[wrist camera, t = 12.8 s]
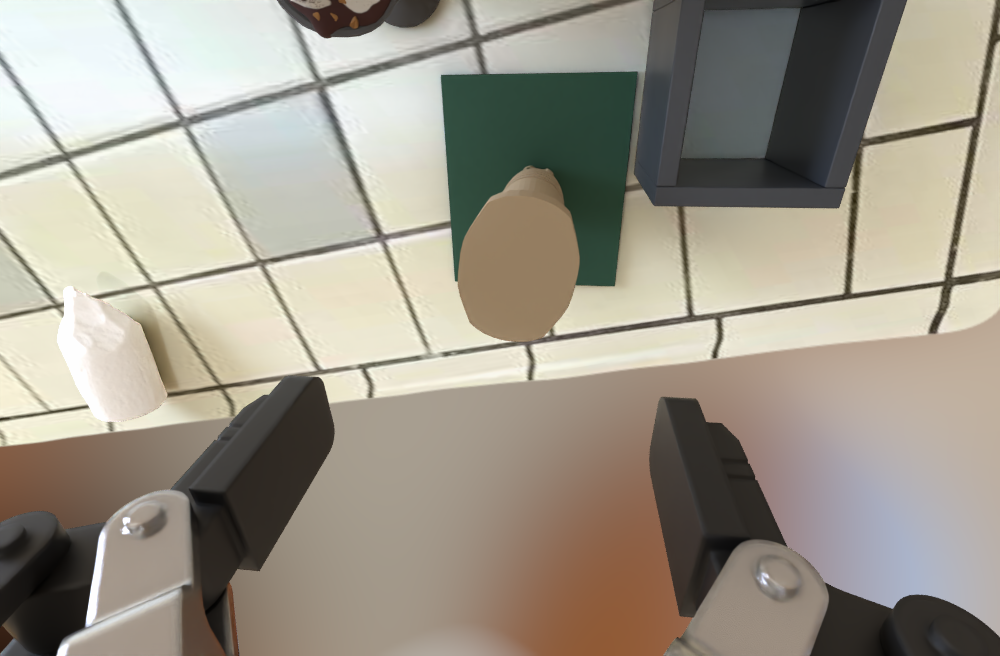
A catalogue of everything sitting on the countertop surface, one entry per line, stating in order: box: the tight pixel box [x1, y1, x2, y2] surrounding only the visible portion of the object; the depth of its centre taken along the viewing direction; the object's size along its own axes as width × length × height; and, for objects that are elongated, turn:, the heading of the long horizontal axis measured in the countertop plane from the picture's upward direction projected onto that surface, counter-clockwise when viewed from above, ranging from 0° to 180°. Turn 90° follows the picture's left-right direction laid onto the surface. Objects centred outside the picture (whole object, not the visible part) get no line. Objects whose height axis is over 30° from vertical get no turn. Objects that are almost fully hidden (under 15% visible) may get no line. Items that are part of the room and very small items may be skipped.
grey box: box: [634, 0, 907, 208], centre depth 25 cm, size 10×9×8 cm
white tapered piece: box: [57, 286, 167, 422], centre depth 41 cm, size 6×12×6 cm, turn 176°
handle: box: [458, 165, 580, 342], centre depth 26 cm, size 5×6×15 cm
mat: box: [441, 72, 638, 286], centre depth 33 cm, size 14×12×1 cm
